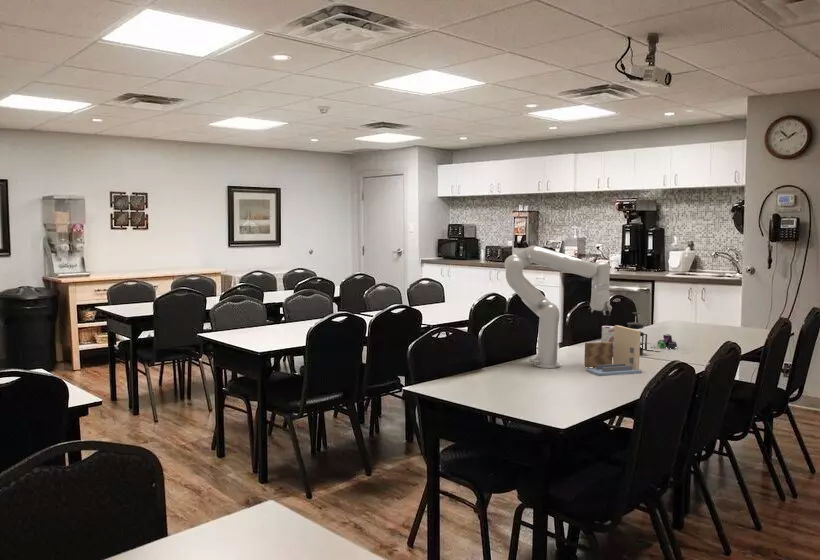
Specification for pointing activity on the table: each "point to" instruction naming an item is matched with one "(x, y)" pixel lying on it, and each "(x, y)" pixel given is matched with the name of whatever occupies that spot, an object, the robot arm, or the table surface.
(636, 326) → the french press
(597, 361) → the door
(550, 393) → the table surface
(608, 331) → the candy bar box
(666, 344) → the mineral sample
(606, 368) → the cabinet side
